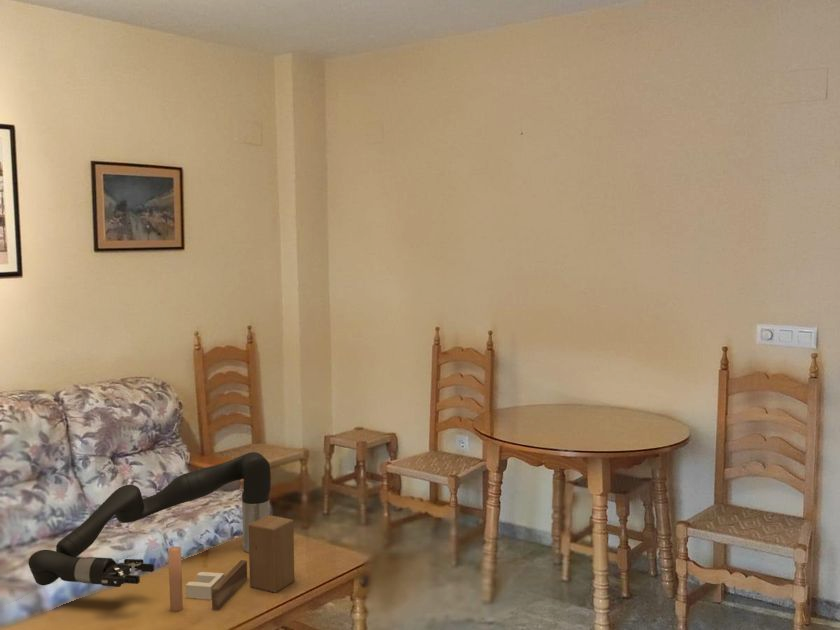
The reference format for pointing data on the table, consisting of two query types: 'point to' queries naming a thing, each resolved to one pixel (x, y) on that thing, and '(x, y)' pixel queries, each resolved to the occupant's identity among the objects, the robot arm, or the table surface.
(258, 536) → the wooden block
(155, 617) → the table surface
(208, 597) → the notched block
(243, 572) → the wall
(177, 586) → the dowel
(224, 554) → the table surface
